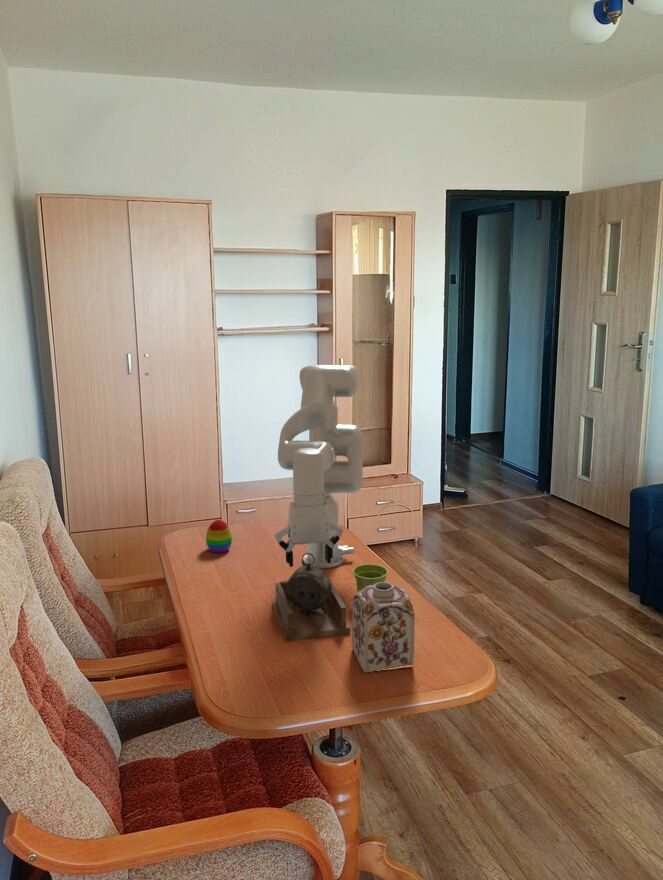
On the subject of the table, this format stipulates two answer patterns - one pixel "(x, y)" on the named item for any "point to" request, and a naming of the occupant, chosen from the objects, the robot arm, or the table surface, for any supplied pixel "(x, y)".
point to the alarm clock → (309, 587)
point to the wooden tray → (309, 616)
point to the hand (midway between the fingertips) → (309, 563)
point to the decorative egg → (218, 537)
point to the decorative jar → (383, 627)
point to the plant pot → (369, 575)
